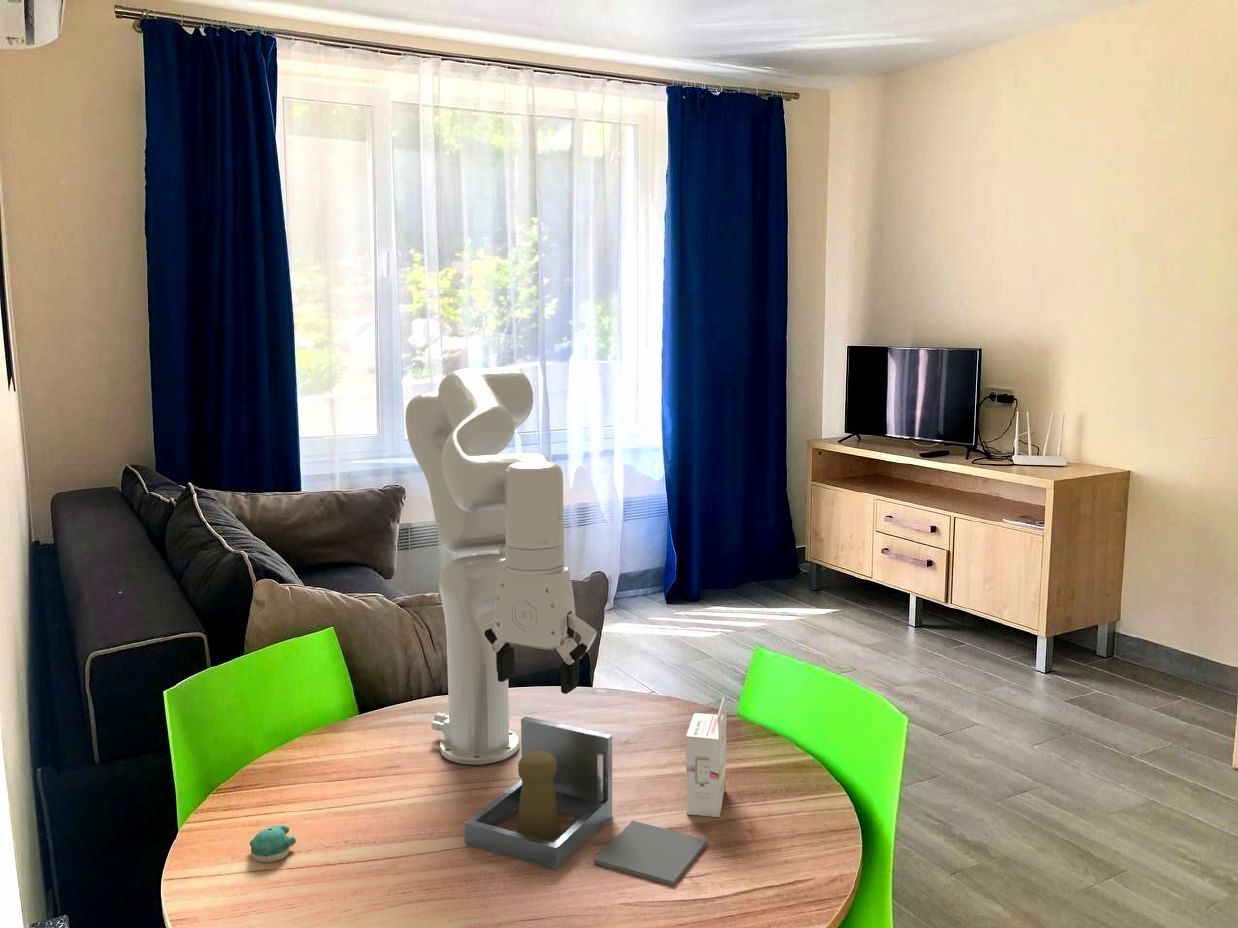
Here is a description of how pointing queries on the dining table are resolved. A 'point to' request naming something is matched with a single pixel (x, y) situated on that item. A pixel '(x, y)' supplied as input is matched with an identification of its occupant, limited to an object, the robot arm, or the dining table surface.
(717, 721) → the ink cartridge box
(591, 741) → the open lid tray
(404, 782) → the dining table surface
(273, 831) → the whale figurine
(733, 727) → the dining table surface
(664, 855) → the rubber mat
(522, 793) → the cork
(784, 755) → the dining table surface
